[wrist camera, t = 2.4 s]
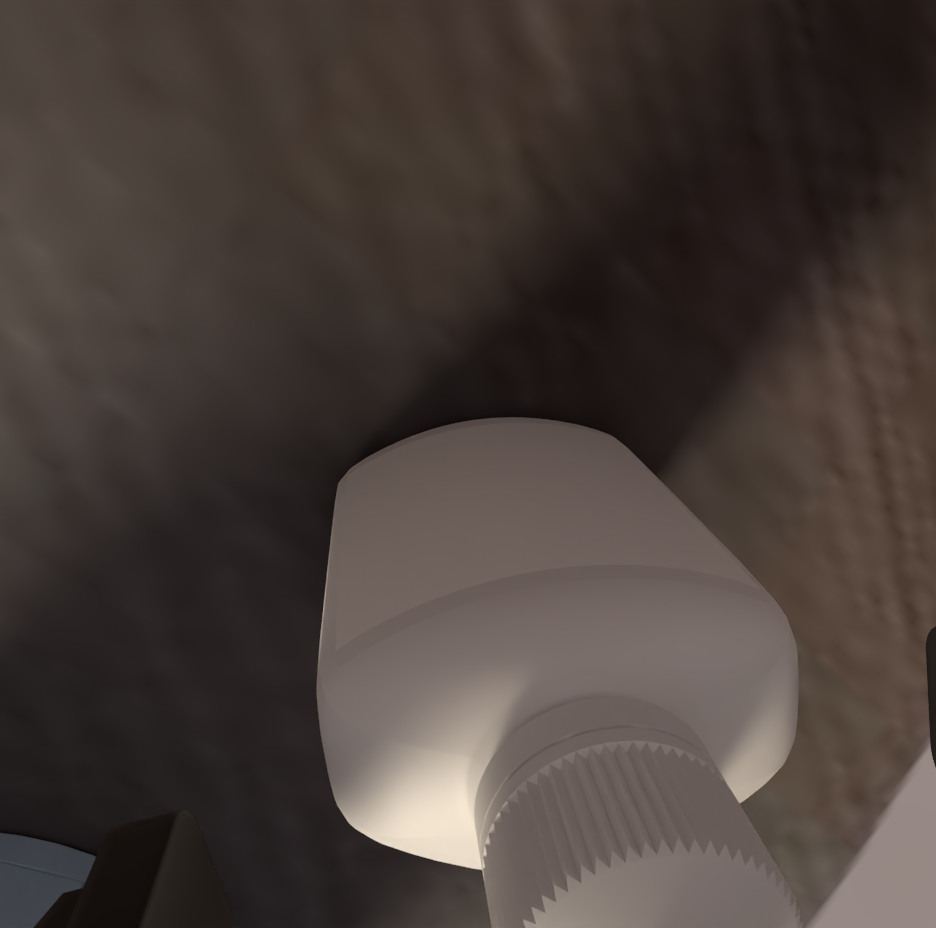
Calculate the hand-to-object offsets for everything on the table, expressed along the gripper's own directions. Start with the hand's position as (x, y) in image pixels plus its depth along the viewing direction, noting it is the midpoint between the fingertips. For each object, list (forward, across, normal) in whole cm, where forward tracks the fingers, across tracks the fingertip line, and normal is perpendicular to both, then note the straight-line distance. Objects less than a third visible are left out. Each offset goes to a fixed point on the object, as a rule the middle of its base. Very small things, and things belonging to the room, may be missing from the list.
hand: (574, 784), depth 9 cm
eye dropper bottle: (+8, 0, 0) cm, 8 cm away
